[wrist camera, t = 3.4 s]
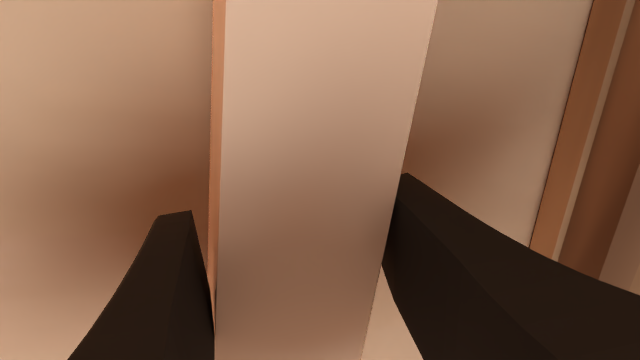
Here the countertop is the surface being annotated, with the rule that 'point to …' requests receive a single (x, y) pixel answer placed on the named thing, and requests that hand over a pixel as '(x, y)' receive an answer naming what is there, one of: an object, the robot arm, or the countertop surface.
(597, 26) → the rack
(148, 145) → the countertop surface
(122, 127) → the countertop surface
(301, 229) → the beige rectangular block
